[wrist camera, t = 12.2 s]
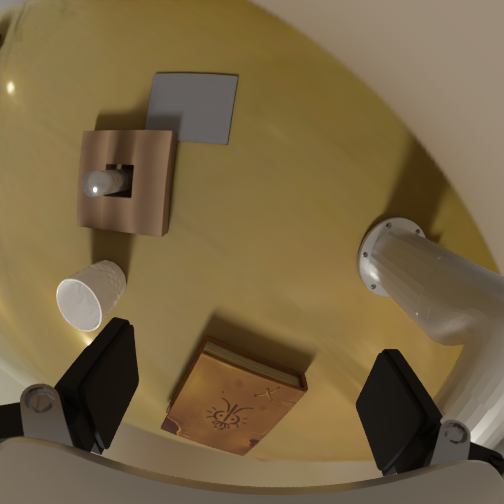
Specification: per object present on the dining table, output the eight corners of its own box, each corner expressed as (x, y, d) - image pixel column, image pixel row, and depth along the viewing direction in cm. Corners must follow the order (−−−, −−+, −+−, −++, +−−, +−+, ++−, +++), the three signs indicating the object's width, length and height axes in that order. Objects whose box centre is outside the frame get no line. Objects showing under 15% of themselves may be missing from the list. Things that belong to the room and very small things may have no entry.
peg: (137, 169, 37) (103, 171, 27) (135, 190, 37) (102, 198, 28) (120, 168, 36) (83, 170, 27) (118, 189, 37) (81, 196, 28)
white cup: (99, 304, 43) (70, 333, 33) (83, 261, 40) (48, 283, 31) (136, 297, 42) (110, 329, 32) (120, 251, 40) (87, 273, 30)
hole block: (178, 133, 35) (172, 130, 32) (167, 232, 39) (161, 237, 36) (93, 133, 35) (83, 131, 32) (87, 222, 39) (77, 226, 36)
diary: (246, 437, 52) (246, 456, 47) (166, 408, 50) (160, 428, 45) (304, 372, 46) (309, 393, 41) (206, 333, 44) (201, 354, 39)
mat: (238, 77, 33) (237, 76, 32) (227, 144, 36) (227, 144, 35) (155, 74, 32) (154, 73, 32) (144, 139, 35) (143, 138, 35)
